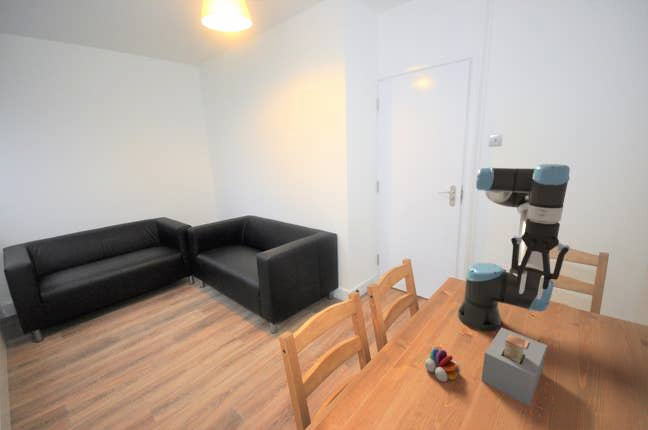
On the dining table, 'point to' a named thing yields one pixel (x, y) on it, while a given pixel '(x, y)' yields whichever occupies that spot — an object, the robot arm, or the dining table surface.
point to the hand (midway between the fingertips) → (530, 294)
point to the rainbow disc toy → (442, 365)
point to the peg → (514, 348)
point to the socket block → (514, 367)
